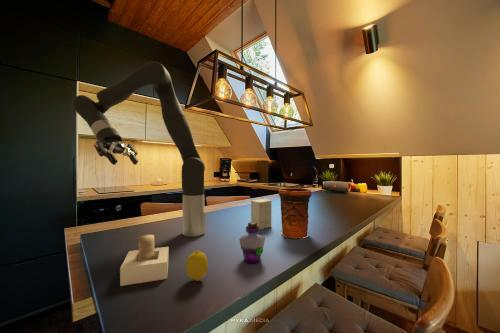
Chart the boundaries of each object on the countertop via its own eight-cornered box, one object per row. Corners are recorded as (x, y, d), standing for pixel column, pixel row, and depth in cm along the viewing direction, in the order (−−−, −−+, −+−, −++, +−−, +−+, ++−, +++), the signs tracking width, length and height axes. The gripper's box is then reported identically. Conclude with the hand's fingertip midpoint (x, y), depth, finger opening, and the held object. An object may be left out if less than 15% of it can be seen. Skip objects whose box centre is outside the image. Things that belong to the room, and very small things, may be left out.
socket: (168, 260, 68) (168, 246, 68) (167, 278, 57) (167, 261, 57) (129, 265, 64) (129, 251, 64) (120, 285, 54) (120, 268, 54)
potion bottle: (257, 269, 63) (257, 228, 63) (233, 261, 68) (233, 223, 67) (270, 258, 70) (270, 221, 70) (248, 252, 75) (248, 217, 75)
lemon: (188, 275, 59) (188, 246, 59) (208, 274, 60) (209, 246, 59) (184, 287, 54) (184, 255, 53) (206, 286, 54) (206, 254, 54)
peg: (155, 267, 63) (155, 234, 63) (153, 274, 60) (153, 238, 59) (140, 269, 62) (139, 235, 62) (137, 276, 58) (137, 240, 58)
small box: (263, 224, 109) (263, 198, 109) (271, 227, 104) (272, 200, 104) (250, 226, 105) (250, 200, 104) (258, 230, 99) (259, 202, 99)
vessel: (273, 237, 90) (274, 189, 90) (281, 228, 103) (282, 187, 104) (308, 242, 85) (309, 191, 85) (312, 232, 98) (313, 188, 98)
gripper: (91, 123, 77) (112, 155, 73) (127, 129, 90) (147, 156, 86) (82, 139, 79) (102, 170, 75) (118, 142, 93) (137, 169, 88)
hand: (126, 163), depth 81 cm, fingers open, 8 cm apart
